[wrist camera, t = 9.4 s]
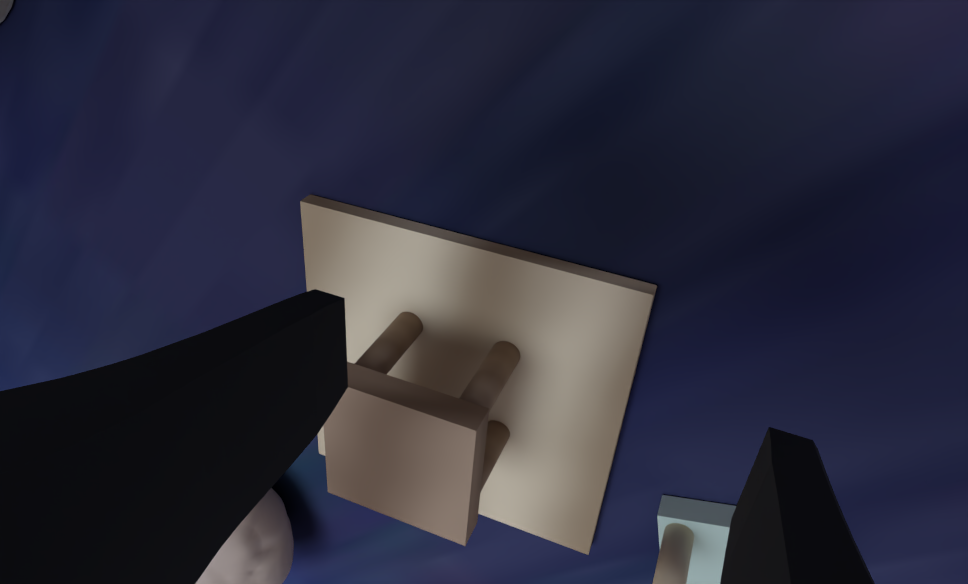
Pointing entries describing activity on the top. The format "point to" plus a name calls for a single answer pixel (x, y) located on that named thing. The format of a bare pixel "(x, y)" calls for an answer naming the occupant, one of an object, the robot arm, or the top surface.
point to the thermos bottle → (5, 8)
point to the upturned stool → (691, 540)
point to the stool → (416, 437)
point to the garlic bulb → (255, 548)
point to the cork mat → (473, 332)
